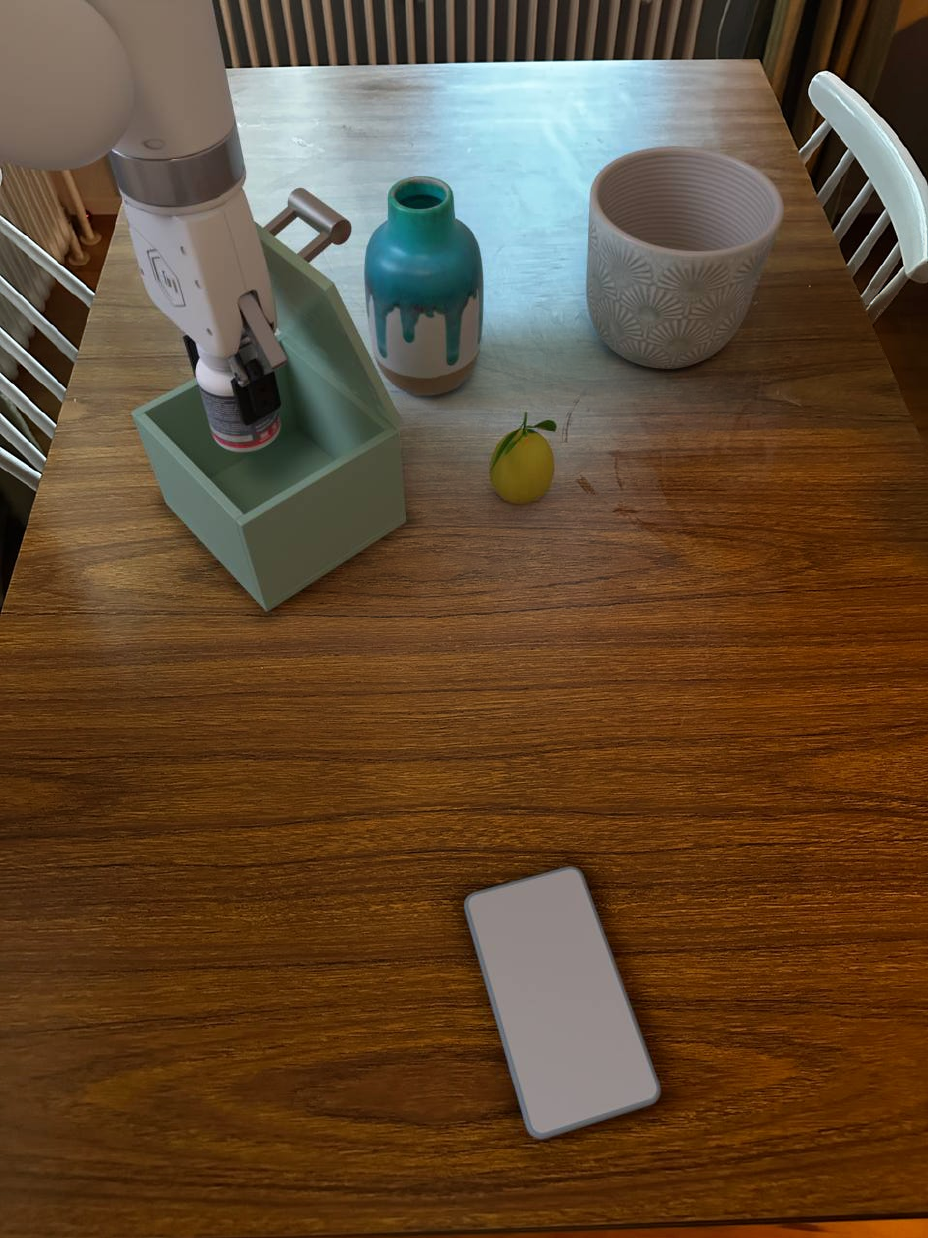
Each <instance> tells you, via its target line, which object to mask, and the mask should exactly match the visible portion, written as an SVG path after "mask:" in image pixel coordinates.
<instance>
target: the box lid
mask: <svg viewBox="0 0 928 1238" xmlns="http://www.w3.org/2000/svg"><path fill="white" fill-rule="evenodd" d="M297 218H298V219H300V220H301V221H303V222H304V223H305V224H307V225H308V226H309V227H310V228H312V229H313V230H314V231H316V232H317V233H319V234H318V235H316V236H315V237H314V238H313V239H312V240H311V241H310V242H308V244H306V245H305V246H304V247H303V248H302V249H301V250H300V251H298V252H295V251H293V249H291V248H290V247H289V246H288V245H286V244H285V243H284V242H282V241H281V240H280V239H278V238H277V237H276V236H278V235H279V234H280V233H281V232H282V231H283V230H284V229H286V228H287V227H288V226H289V225H290V224H291V223H293V221H295V220H296V219H297ZM254 222H255V225H256V228H257V231H258V235H259V238H260V242H261V245H262V249H263V253H264V256H265V260H266V264H267V268H268V272H269V276H270V280H271V285H272V289H273V294H274V299H275V305H276V311H277V330H278V331H279V332H280V333H283V334H284V335H285V336H286V337H287V338H289V339H290V340H291V341H292V342H293V343H295V344H296V345H297V346H298V347H299V348H300V349H302V350H303V351H304V352H305V353H306V354H308V355H309V356H310V357H311V358H312V359H313V360H315V361H316V362H317V363H318V364H319V365H321V366H322V367H323V368H324V369H325V370H326V371H328V372H329V373H330V374H331V375H332V376H334V377H335V378H336V379H337V380H338V381H339V382H341V383H342V384H343V385H344V386H345V387H347V388H348V389H349V390H350V391H351V392H352V393H354V394H355V395H356V396H357V397H358V398H359V399H361V400H362V401H363V402H364V403H365V404H367V405H368V406H369V407H370V408H371V409H372V410H374V411H375V412H376V413H377V414H378V415H380V416H381V417H382V418H383V419H384V420H385V421H387V422H388V423H389V424H390V425H391V426H393V427H394V428H395V429H396V428H397V429H398V428H399V427H400V426H401V425H402V424H403V420H402V418H401V416H400V414H399V412H398V410H397V407H396V406H395V404H394V402H393V399H392V398H391V396H390V394H389V392H388V390H387V387H386V386H385V384H384V382H383V380H382V377H381V376H380V374H379V371H378V369H377V368H376V365H375V363H374V362H373V359H372V357H371V355H370V353H369V351H368V349H367V347H366V345H365V343H364V341H363V339H362V336H361V335H360V333H359V331H358V328H357V327H356V324H355V322H354V320H353V318H352V316H351V315H350V313H349V311H348V308H347V307H346V305H345V303H344V299H343V298H342V296H341V294H340V292H339V290H338V288H337V285H336V283H335V282H334V281H332V280H331V279H330V278H328V277H327V276H326V275H324V273H322V272H321V271H320V270H318V269H317V268H316V267H315V266H313V265H312V264H311V262H312V261H313V260H314V259H316V258H317V257H318V256H319V255H320V254H322V253H323V252H324V251H325V250H326V249H327V248H328V247H329V246H331V245H332V244H333V245H335V246H341V245H343V244H345V243H346V242H347V241H348V240H349V239H350V237H351V235H352V229H353V228H352V223H351V222H350V220H349V219H348V218H346V217H344V216H343V215H342V214H341V213H339V212H338V211H336V210H335V209H333V208H332V207H330V206H329V205H328V204H327V203H325V202H324V201H322V200H321V199H320V198H318V197H317V196H315V195H314V194H313V193H311V192H310V191H309V190H307V189H306V188H304V187H297V188H294V189H293V190H292V191H291V192H290V194H289V195H288V198H287V207H285V208H284V209H283V210H282V211H281V212H279V213H278V214H277V215H276V216H274V217H273V218H272V219H271V220H270V221H268V222H267V224H265V225H264V226H262V225H260V224H259V223H258V222H257V221H255V220H254Z"/></svg>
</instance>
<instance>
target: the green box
mask: <svg viewBox="0 0 928 1238" xmlns="http://www.w3.org/2000/svg"><path fill="white" fill-rule="evenodd" d="M275 336H276V338H277V340H278V342H279V344H280V346H281V348H282V350H283V351H284V353H285V355H286V357H287V360H288V363H287V364H286V365H284V366H282V367H280V368H278V369H277V370H275V371H274V372H275V376H276V381H277V386H278V390H279V395H280V400H281V406H280V408H279V409H278V411H279V416H280V422H281V427H280V431H279V434H278V435H277V437H276V438H275V440H274V441H273V442H271V443H270V444H269V445H267V446H266V447H264V448H262V449H259V450H256V451H252V452H234V451H230V450H227V449H225V448H223V447H222V446H220V445H219V444H218V443H217V442H216V440H215V439H214V437H213V434H212V431H211V428H210V424H209V420H208V417H207V413H206V410H205V406H204V403H203V400H202V396H201V393H200V389H199V386H198V383H197V379H196V378H195V377H194V378H193V379H190V380H189V381H187V382H185V383H183V384H181V385H179V386H177V387H175V388H173V389H171V390H170V391H168V392H165V393H164V394H161V395H160V396H158V397H156V398H154V399H153V400H150V401H148V402H147V403H145V404H143V405H141V406H139V407H137V408H135V409H133V410H131V411H130V414H131V417H132V420H133V422H134V425H135V427H136V430H137V433H138V435H139V437H140V440H141V442H142V446H143V448H144V450H145V453H146V455H147V458H148V461H149V463H150V466H151V469H152V472H153V474H154V476H155V479H156V481H157V482H156V483H157V484H158V487H159V490H160V492H161V494H162V498H163V500H164V502H165V504H166V505H167V506H168V508H170V510H171V511H172V513H174V514H175V515H176V516H177V517H178V518H179V519H180V520H181V521H182V522H183V523H184V525H185V526H186V527H187V528H188V529H189V530H190V532H192V533H193V534H194V535H195V537H196V538H197V539H198V540H199V541H200V542H201V543H202V544H203V545H204V546H205V547H206V548H207V550H208V551H209V552H210V553H211V554H212V555H213V556H214V557H215V558H216V559H217V560H218V562H219V563H221V565H223V566H224V568H225V569H226V570H227V571H228V572H229V573H230V574H231V576H232V577H234V578H235V580H236V581H237V582H238V583H239V584H240V585H241V586H242V587H243V588H244V589H245V591H247V593H248V594H249V595H250V596H251V597H252V598H253V599H254V600H255V601H256V603H258V604H259V606H260V607H261V608H262V609H263V610H264V611H265V612H266V613H268V612H270V611H271V610H273V609H274V608H276V607H278V606H279V605H280V604H282V603H283V602H285V601H287V600H288V599H290V598H292V597H293V596H294V595H296V594H297V593H299V592H300V591H302V590H303V589H305V588H307V587H308V586H310V585H311V584H313V583H314V582H316V581H318V580H319V579H320V578H322V577H324V576H325V575H327V574H328V573H329V572H331V571H332V570H334V569H336V568H337V567H339V566H340V565H342V564H343V563H345V562H347V561H348V560H350V559H351V558H353V557H354V556H356V555H357V554H359V553H361V552H362V551H363V550H365V549H366V548H368V547H370V546H371V545H372V544H374V543H375V542H378V541H379V540H380V539H382V538H384V537H385V536H386V535H388V534H390V533H391V532H392V531H394V530H396V529H397V528H399V527H400V526H402V525H403V524H405V523H406V522H407V511H406V497H405V486H404V485H405V483H404V473H403V460H402V448H401V447H402V445H401V435H400V430H399V429H398V427H397V428H396V429H395V428H394V427H393V426H391V425H390V424H389V423H388V422H387V421H385V420H384V419H383V418H382V417H381V416H380V415H378V414H377V413H376V412H375V411H374V410H372V409H371V408H370V407H369V406H368V405H367V404H365V403H364V402H363V401H362V400H361V399H359V398H358V397H357V396H356V395H355V394H354V393H352V392H351V391H350V390H349V389H348V388H347V387H345V386H344V385H343V384H342V383H341V382H339V381H338V380H337V379H336V378H335V377H334V376H332V375H331V374H330V373H329V372H328V371H326V370H325V369H324V368H323V367H322V366H321V365H319V364H318V363H317V362H316V361H315V360H313V359H312V358H311V357H310V356H309V355H308V354H306V353H305V352H304V351H303V350H302V349H300V348H299V347H298V346H297V345H296V344H295V343H293V342H292V341H291V340H290V339H289V338H287V337H286V336H285V335H284V334H283V333H282V332H280V333H279V334H277V335H275Z"/></svg>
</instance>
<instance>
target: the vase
mask: <svg viewBox="0 0 928 1238" xmlns="http://www.w3.org/2000/svg"><path fill="white" fill-rule="evenodd" d="M454 197H455V196H454V192H453V189H452V188H451V186H450V185H449V184H448V183H447V182H445V181H444V180H442V179H440V178H437V177H433V176H427V175H416V176H409V177H406V178H403V179H400V180H399V181H397V182H395V183H394V184H393V185H392V186H391V187H390V188H389V191H388V194H387V220H385V221H384V222H382V223H380V225H379V226H378V227H377V228H376V229H375V230H374V231H373V232H372V234H371V236H370V237H369V240H368V243H367V245H366V249H365V256H364V267H363V270H364V271H363V273H364V274H363V276H364V277H363V280H364V282H363V283H364V296H365V307H366V308H365V309H366V317H367V325H368V333H369V337H370V343H371V348H372V353H373V356H374V358H375V361H376V364H377V366H378V368H379V370H380V371H381V374H382V375H383V376H384V377H385V378H386V380H388V381H389V382H390V383H391V384H392V385H393V386H395V387H396V388H398V389H400V390H401V391H403V392H406V393H409V394H412V395H417V396H437V395H441V394H445V393H448V392H450V391H453V390H455V389H456V388H457V387H459V386H460V385H461V384H463V383H464V382H465V381H466V380H467V379H468V377H470V375H471V374H472V373H473V370H474V369H475V366H476V365H477V361H478V359H479V355H480V351H481V345H482V337H483V327H484V300H485V299H484V297H485V296H484V295H485V293H484V292H485V289H484V288H485V287H484V286H485V285H484V267H483V259H482V253H481V249H480V245H479V242H478V240H477V238H476V236H475V234H474V232H473V231H472V230H471V228H470V227H469V226H467V225H466V224H465V223H464V222H463V221H461V220H460V219H458V218H456V211H455V198H454Z"/></svg>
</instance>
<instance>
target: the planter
mask: <svg viewBox="0 0 928 1238" xmlns="http://www.w3.org/2000/svg"><path fill="white" fill-rule="evenodd" d="M590 186H591V187H590V190H589V200H588V201H589V203H588V228H587V229H588V230H587V255H586V280H585V281H586V282H585V288H586V289H585V292H586V293H585V294H586V304H587V308H588V313H589V317H590V320H591V322H592V325H593V327H594V329H595V331H596V333H597V335H598V336H599V337H600V339H601V340H602V342H603V343H605V345H607V347H609V349H611V350H612V352H614V353H616V354H617V355H618V356H620V357H622V358H623V359H625V360H627V361H629V362H631V363H634V364H636V365H639V366H643V367H647V368H653V369H661V370H663V369H664V370H668V369H680V368H686V367H689V366H692V365H695V364H698V363H700V362H703V361H705V360H707V359H708V358H710V357H712V356H713V355H715V354H716V353H718V352H719V351H721V350H722V348H723V347H725V346H726V345H727V344H728V343H729V341H730V340H731V339H732V338H733V337H734V335H735V333H736V332H737V331H738V330H739V328H740V327H741V325H742V323H743V321H744V319H745V318H746V315H747V313H748V311H749V309H750V305H751V304H752V303H751V302H752V300H753V297H754V295H755V292H756V290H757V287H758V284H759V281H760V280H761V277H762V274H763V272H764V269H765V266H766V263H767V261H768V259H769V257H770V253H771V250H772V248H773V245H774V243H775V240H776V238H777V235H778V233H779V230H780V227H781V225H782V222H783V219H784V214H785V213H784V212H785V206H784V205H785V204H784V200H783V197H782V195H781V193H780V191H779V190H778V188H777V186H776V184H775V183H774V182H773V181H772V180H771V179H770V178H769V177H768V176H767V175H766V174H764V173H763V172H762V171H760V169H758V168H757V167H755V166H753V165H752V164H750V163H748V162H746V161H744V160H742V159H740V158H737V157H735V156H732V155H730V154H726V153H723V152H720V151H716V150H712V149H708V148H707V149H706V148H704V147H703V148H702V147H695V146H683V145H682V146H680V145H679V146H678V145H670V146H656V147H648V148H644V149H643V148H642V149H640V150H635V151H633V152H629V153H628V154H624V155H622V156H620V157H617V158H615V159H614V160H612V161H610V162H609V163H608V164H607V165H605V166H604V167H603V168H602V169H601V170H600V171H599V172H598V173H597V175H596V176H595V177H594V179H593V181H592V183H591V185H590Z"/></svg>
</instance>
